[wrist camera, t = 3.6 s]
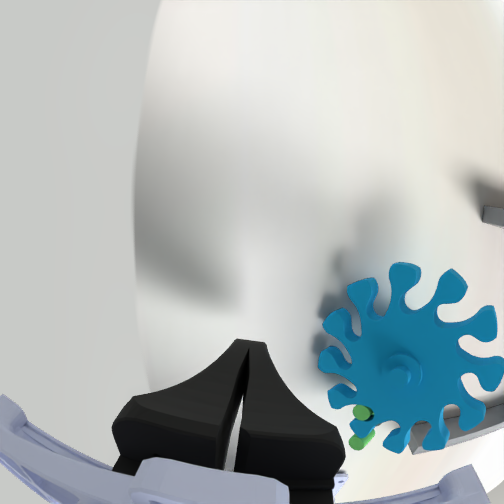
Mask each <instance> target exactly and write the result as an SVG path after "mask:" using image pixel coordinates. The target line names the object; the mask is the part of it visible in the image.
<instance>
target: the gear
mask: <svg viewBox="0 0 504 504" xmlns="http://www.w3.org/2000/svg"><path fill="white" fill-rule="evenodd" d="M420 277H421V269H420V267H418V266H416V265H414V264H411V263H404V262H398V263H394V264H393V265H392V266H391V268H390V270H389V279H390V283H391V290H392V293H391V301H390V305H389V307H388V310H387V312H386V314H385V316H379V315H377V314H376V312H375V311H374V308H373V303H374V300H375V298H376V296H377V293H378V283H377V281H376V280H375V278H366V279H363V280H360V281H357V282H354V283H352V284H350V285H348V286H347V294H348V297H349V298H350V300H351V301H352V302H353V303H354V305H355V306H356V308H357V310H358V312H359V315H360V319H361V330H362V333H361V337H359V336H357V335H356V334H355V333H354V332H353V330H352V320H351V315H350V313H349V312H348V311H347V310H346V309H345V308H341V309H338V310H336V311H334V312H332V313H331V314H329V315H328V317H327V318H326V319H325V321H324V322H323V324H322V325H323V328H324V330H325V331H326V332H327V333H328V334H330V335H332V336H334V337H336V338H337V339H338V340H339V341H341V342H342V344H343V345H344V346H345V347H346V349H347V351H348V353H349V355H350V356H351V359H352V364H350V363H348V362H347V361H346V360H345V358H344V356H343V354H342V352H341V351H340V350H339V349H338V348H337V347H334V346H330V347H328V348H326V349H325V350H323V351H322V352H321V353H320V356H319V361H318V368H319V369H320V370H321V371H322V372H324V373H336V374H339V375H341V376H343V377H345V378H346V379H348V380H349V381H350V382H352V383H353V384H354V385H355V386H356V389H357V391H354V390H352V389H351V388H350V387H348V386H347V385H345V384H342V383H339V384H337V385H335V386H334V387H333V388H331V389H330V390H328V399H329V402H330V405H331V407H332V408H334V409H341V408H342V407H344V406H346V405H351V404H357V405H356V406H355V407H354V408H353V414H354V416H355V417H356V418H355V419H354V420H352V421H351V422H350V424H349V425H350V427H351V429H352V430H353V432H354V433H355V434H354V435H353V436H352V437H351V438H350V439H349V445H350V447H351V448H353V449H354V450H362V449H363V448H364V447H365V446H366V445H367V443H368V442H369V441H370V440H371V439H372V438H373V437H374V435H375V431H374V428H375V426H379V425H380V424H381V423H382V422H386V421H390V420H392V421H395V422H397V423H398V424H399V425H400V428H396V429H394V430H392V431H391V432H390V434H389V435H388V436H387V437H386V439H385V440H384V441H383V446H384V447H385V448H386V449H388V450H390V451H392V452H395V453H398V454H399V453H401V452H402V451H403V450H404V449H405V447H406V446H407V444H408V443H409V441H410V430H411V427H412V426H413V425H414V424H415V423H416V422H418V421H427V422H429V423H430V425H431V428H430V430H429V431H428V433H427V434H426V436H425V438H424V440H423V442H422V447H423V449H424V450H429V451H433V450H441V449H444V447H445V445H446V443H447V441H448V439H449V436H450V432H449V430H448V428H447V427H446V425H445V423H444V419H443V411H444V406H446V405H448V404H455V405H457V406H458V407H459V408H460V411H461V412H460V417H459V422H458V424H459V427H460V429H461V430H463V431H468V430H470V429H472V428H474V427H476V426H477V425H478V424H480V423H481V422H482V421H483V420H484V417H485V412H486V407H485V404H484V403H483V402H481V401H479V400H476V399H475V398H473V397H472V396H470V395H469V394H468V392H467V391H466V390H465V388H464V386H463V383H462V381H461V376H462V375H463V374H465V373H474V374H475V375H476V376H477V377H478V380H479V382H480V385H481V387H482V388H483V389H484V390H486V391H490V392H492V391H494V390H495V389H496V388H497V387H498V385H499V384H500V382H501V379H502V377H503V374H504V358H502V357H500V356H493V357H489V358H480V357H476V356H473V355H471V354H469V353H467V352H466V351H464V350H463V349H462V348H461V347H460V346H459V343H458V339H459V338H460V337H462V336H464V335H471V336H473V337H475V338H476V339H478V340H480V341H482V342H490V341H492V340H494V339H495V338H496V337H497V317H496V312H495V309H494V306H492V305H487V306H484V307H482V308H481V309H480V310H479V311H478V312H477V313H476V314H475V315H474V316H472V317H471V318H469V319H467V320H465V321H461V322H454V323H446V322H443V321H441V320H440V319H439V317H438V315H437V308H438V306H439V305H441V304H451V303H456V302H459V301H460V300H461V299H462V298H463V297H464V295H465V293H466V291H467V288H468V286H467V284H466V282H465V280H464V279H463V278H462V277H461V276H460V275H459V274H458V273H457V272H456V271H455V270H453V269H449V270H448V271H446V272H445V273H444V274H443V275H442V276H441V277H440V279H439V281H438V286H437V289H436V292H435V294H434V296H433V298H432V299H431V301H430V302H429V303H428V304H426V305H425V306H423V307H422V308H420V309H418V310H411V309H409V308H408V307H407V306H406V304H405V299H404V298H405V294H406V292H407V291H408V290H409V289H411V288H412V287H413V286H415V285H416V284H417V283H418V282H419V280H420Z"/></svg>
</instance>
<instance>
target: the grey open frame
mask: <svg viewBox="0 0 504 504" xmlns="http://www.w3.org/2000/svg"><path fill="white" fill-rule="evenodd" d="M482 222H484V223H487V224H491V225H494V226H497V227H500V228H503V229H504V209H503V208H497V207H490V206H484V214H483V221H482ZM459 417H460V416H458V417H454V418H449V419H444V423H445V425H446V427H447V428H448V430H449V432H450V436H449V439H448V441H447V443H446V445H445V447H449V446H452V445H456V444H459V443H462V442H466V441H469V440H472V439H475V438H478V437H480V436H483V435H486V434H489V433H491V432H494V431H496V430H499V429H501V428H504V404H501V405H498V406H495V407H492V408H488V409H486V412H485V417H484V420H483V421H482V422H481V423H480V424H478V425H477V426H476V427H474V428H472V429H470V430H468V431H463V430H461V429H460V427H459V424H458V422H459ZM430 428H431V425H430V423H429V422H428V423H422V424H415V425H413V426H412V427H411V430H410V441H409V443H408V445H409V448H410V450H411V452H412V455H415V454H420V453H424V452H429V450H424V449H423V447H422V442H423V440H424V438H425V436H426V434H427V433H428V431H429V430H430ZM445 447H444V448H445Z"/></svg>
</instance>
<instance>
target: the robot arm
mask: <svg viewBox="0 0 504 504" xmlns="http://www.w3.org/2000/svg"><path fill="white" fill-rule="evenodd" d="M242 396H243V409H242V420H241V425H240V431H239V438H238V446H237V453H236V460H235V467H234V472H229V471H224V467H225V462H226V456H227V451H228V446H229V441H230V436H231V432H232V429H233V425H234V422H235V419H236V416H237V413H238V409H239V406H240V403H241V400H242ZM112 433H113V436H114V439H115V442H116V444H117V447H118V449H119V452H120V456H119V458H118V460H117V462H116V464H115V465H114V467H111V466H109V465H106V464H104V463H102V462H99V461H97V460H95V459H93V458H91V457H89V456H87V455H85V454H83V453H81V452H79V451H77V450H75V449H73V448H71V447H69V446H68V445H66V444H64V443H62V442H61V441H59V440H57V439H55V438H54V437H52V436H50V435H49V434H47V433H45V432H44V431H42V430H41V429H39V428H38V427H36V426H35V425H33V424H32V423H30V422H29V421H28V420H27V417H26V415H25V413H24V412H23V410H22V409H21V408H20V407H19V405H17V404H16V403H15V402H13V401H12V400H11V399H9V398H8V397H7V396H5V395H4V394H2V395H1V396H0V463H1V464H2V465H3V466H4V467H6V468H7V469H8V470H9V471H10V472H11V473H12V474H14V475H15V476H16V477H17V478H18V479H20V480H21V481H22V482H23V483H24V484H26V485H27V486H28V487H29V488H31V489H32V490H33V491H34V492H36V493H37V494H38V495H40V496H41V497H42V498H44V499H45V500H46V501H48V502H49V503H51V504H490V500H489V498H488V496H487V494H486V492H485V490H484V488H483V486H482V484H481V482H480V480H479V478H478V476H477V474H476V472H475V470H474V468H473V466H472V464H469V465H467V466H464V467H462V468H459V469H456V470H453V471H451V472H449V473H448V474H446V475H445V476H444V477H443V478H442V479H441V480H440V481H439V483H438V484H435V485H432V486H429V487H425V488H422V489H418V490H414V491H410V492H406V493H402V494H397V495H393V496H388V497H382V498H376V499H370V500H363V501H355V502H346V503H335V498H334V496H335V495H336V494H337V492H338V491H339V490H340V489H341V487H342V486H343V485H344V483H345V482H346V481H347V479H348V474H337V472H338V471H339V469H340V467H341V466H342V464H343V463H344V460H345V457H346V456H345V448H344V444H343V441H342V439H341V436H340V434H339V431H338V429H337V427H336V426H334V425H332V424H331V423H329V422H327V421H325V420H324V419H322V418H320V417H319V416H317V415H316V414H315V413H313V412H312V411H311V410H309V409H308V408H307V407H306V406H305V405H304V404H302V403H301V402H300V401H299V400H298V399H297V398H296V397H295V396H294V395H293V393H292V392H291V391H290V390H289V388H288V387H287V386H286V385H285V383H284V382H283V380H282V379H281V377H280V375H279V374H278V372H277V370H276V368H275V366H274V364H273V362H272V360H271V358H270V355H269V352H268V349H267V345H266V344H265V342H258V341H250V340H243V339H236V340H234V342H233V343H232V344H231V346H230V347H229V348H228V349H227V350H226V351H225V352H224V353H223V354H222V355H221V356H220V357H219V358H218V359H217V360H216V361H214V362H213V363H212V364H211V365H209V366H208V367H207V368H206V369H204V370H203V371H201V372H200V373H198V374H197V375H195V376H194V377H192V378H190V379H188V380H186V381H184V382H182V383H180V384H178V385H175V386H173V387H170V388H167V389H164V390H160V391H157V392H153V393H148V394H143V395H138V396H133V397H132V398H131V400H130V401H129V402H128V403H127V404H126V405H125V406H124V407H123V409H122V410H121V412H120V413H119V415H118V416H117V418H116V419H115V421H114V422H113V425H112Z"/></svg>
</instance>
